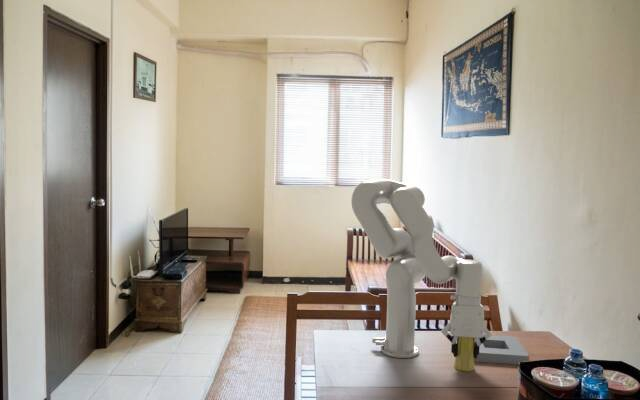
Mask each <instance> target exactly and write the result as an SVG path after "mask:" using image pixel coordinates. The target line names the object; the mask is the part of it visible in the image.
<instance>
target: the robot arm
mask: <svg viewBox="0 0 640 400" xmlns="http://www.w3.org/2000/svg"><path fill="white" fill-rule="evenodd" d="M425 200H426V198H425V195H424V193H423V191H422V190H421V189H420V188H419V187H417V186H415V185H410V184H407V183H403V182H399V181H396V180H392V179H388V178H379V179H366V180H364V181H362V182H360V183H359V184H358V185H356V186H355V188H354V189H353V192H352V195H351V207H352V210H353V213H354V216H355V217H356V219H357V220H358V222H359V224H360V226H361V227H362V229H363V230H364V233H365V234H366V236H367V238H368V240H369V243H370V244H371V245H372V247H373V249H374V250H375V251H374V252H375V253H376V254H377V255H378V256H379V257H380V258H382V259H384V260H387V259H388V260H389V259H392V258H393V259H394V261H392V262H391V263H390V264H389V265H388V267H387V269H386V271H385V284H386V294H387V295H386V299H387V300H386V320H385V321H386V325H385V326H386V327H385V334H384V336H381V337H375V336H373V337H372V339H371V342H372V344H375V345H376V346H380V351H381V353H383V354H384V355H386V356H388V357H392V358H395V359H396V358H397V359H410V358H414V357H416V356H418V355H419V352H420V351H419V348H418V347H417V346H416V345H415V333H416V332H415V330H416V312H417V311H416V309H417V296H416V290H415V285H416V284H417V283H419V282H421V281H422V280H424V278H426V277H427V279H429V280H430V281H431V282H432V283H434V284H437V285H442V284H445V283H448V282H449V281H452V280H456V284H455V285H456V287H455V294H451V295H450V300H451V301H454V302H453V303H452V306H451V311H450V319H449V322H448V323H447V324H446V325H445V326H444V327H443V328H442V329H441V334H442V335H444V336H445V337H446V339H447V340H448V341H449V342H450V343H451V348H450V349H451V354H452V355H453V358H455V357H456V356H457V339H458V337H470V338H475V348H474V358H477V355H479V347H480V346H481V344H482V343H483V342H484V341H485V340H486V339H488V338H489V337H490V336H491V335H492V333H491V332H490V330H489V329H488V328H487V327H486V326H485V311H484V310H485V309H484V305H482V304H481V302H482V301H481V299H482V296H481V295H482V284H483V283H482V281H483V265H482V263H481V262H480V261H478V260H474V259H465V258H464V259H463V258H461V257H458V256H454V255H444V256H441V255H440V253H439V251H438V250H437V247H436V246H435V243H434V239H433V235H434V234H433V232H434V228H435V227H434V223H433V221H432V219H431V218H430V215H428V212H426V210H425V208H424V207H423V206H424V204H425ZM380 204H388V205H390V206H391V207H392V210H393V211H394V212H395V214H396V216H397V218H398V219H399V221H400V222H401V224H402V225H403V227H404V228H405V229H403V228H400V227H394V228H392V226H391V224H390V222H389V221H388V219H387V217H386V216H385V214H384V213H383V212H382V211H381V210H380V209H379V208H378V206H377V205H380ZM449 331H450V333H449Z"/></svg>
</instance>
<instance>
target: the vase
mask: <svg viewBox="0 0 640 400" xmlns="http://www.w3.org/2000/svg"><path fill="white" fill-rule="evenodd" d="M456 343H457V356H456V357H454V368H455V369H456V370H458V371H462V372H473V371H474V370H475V361H474V348H475V338H470V337H458V339H457V341H456Z"/></svg>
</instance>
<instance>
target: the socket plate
mask: <svg viewBox="0 0 640 400" xmlns="http://www.w3.org/2000/svg"><path fill="white" fill-rule="evenodd" d="M523 361H530V355H529V354H528V352H527V350H526V349H525V348H524V346H523V345H522V343H521V342H520V341H519V339H518V338H517V336H511V335H510V336H509V335H495V334H491V336H490V337H489V338H488V339H486V340H485V341H484V342H483V343H482V344H481V346H480V347H479V355H477V358H474V362H478V363H492V364H493V363H494V364H509V365H519V364H518V363H519V362H523Z"/></svg>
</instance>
